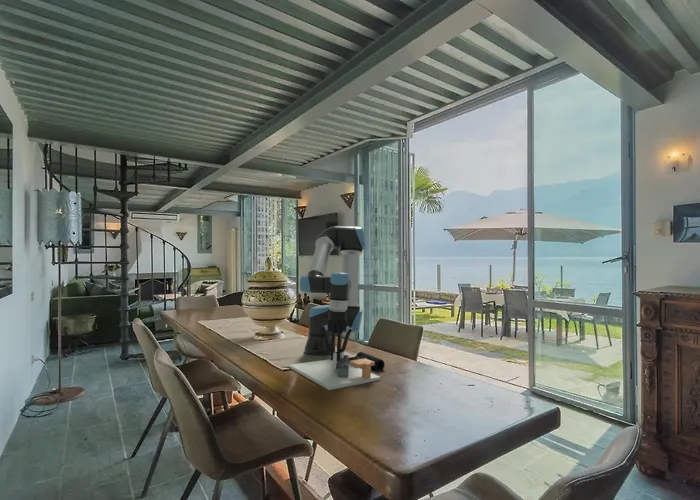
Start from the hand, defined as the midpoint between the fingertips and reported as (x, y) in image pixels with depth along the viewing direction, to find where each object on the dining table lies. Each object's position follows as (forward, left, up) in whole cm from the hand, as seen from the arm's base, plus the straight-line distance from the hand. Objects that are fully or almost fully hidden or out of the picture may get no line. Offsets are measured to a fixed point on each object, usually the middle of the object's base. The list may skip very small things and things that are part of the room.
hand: (334, 368), depth 155 cm
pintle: (-7, -5, -3) cm, 9 cm away
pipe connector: (-18, -4, -3) cm, 19 cm away
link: (-4, 0, -1) cm, 4 cm away
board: (-1, -2, -3) cm, 4 cm away
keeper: (-7, +10, -3) cm, 12 cm away
